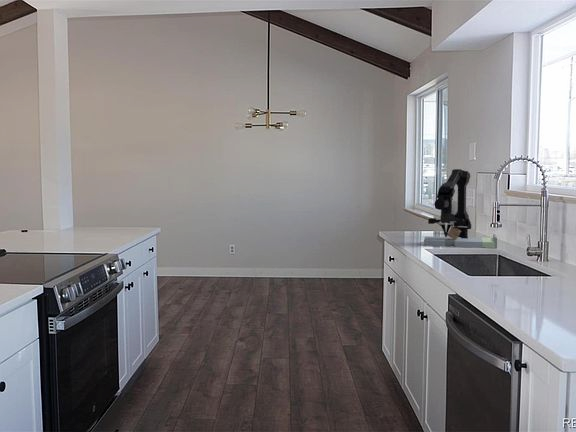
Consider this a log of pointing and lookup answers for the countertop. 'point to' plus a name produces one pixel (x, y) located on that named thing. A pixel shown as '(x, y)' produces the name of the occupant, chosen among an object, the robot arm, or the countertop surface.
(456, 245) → the deck
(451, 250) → the countertop surface
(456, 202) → the tall pale column
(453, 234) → the block
